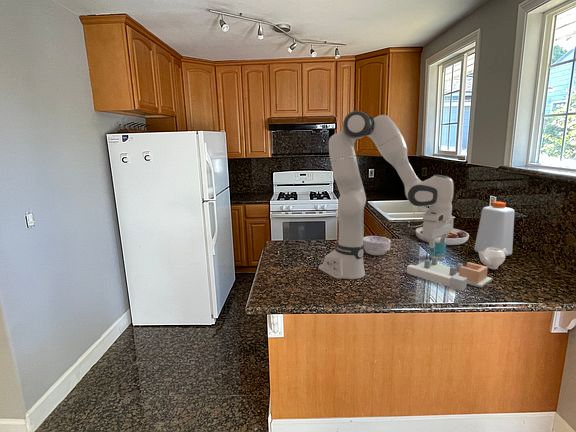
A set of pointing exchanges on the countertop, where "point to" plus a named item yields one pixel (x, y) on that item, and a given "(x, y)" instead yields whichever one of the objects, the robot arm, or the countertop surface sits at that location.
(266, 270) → the countertop surface
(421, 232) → the bowl
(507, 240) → the plastic bottle
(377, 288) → the countertop surface
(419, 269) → the white long bar
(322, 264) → the robot arm
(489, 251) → the teapot
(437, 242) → the pill bottle
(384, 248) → the paper bowls
